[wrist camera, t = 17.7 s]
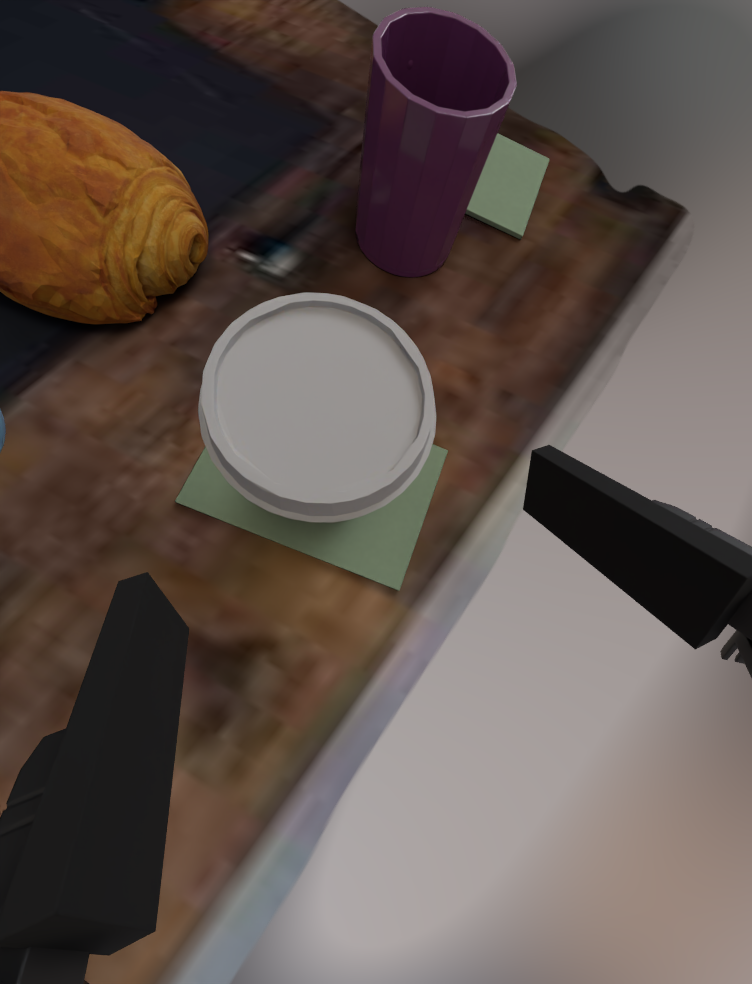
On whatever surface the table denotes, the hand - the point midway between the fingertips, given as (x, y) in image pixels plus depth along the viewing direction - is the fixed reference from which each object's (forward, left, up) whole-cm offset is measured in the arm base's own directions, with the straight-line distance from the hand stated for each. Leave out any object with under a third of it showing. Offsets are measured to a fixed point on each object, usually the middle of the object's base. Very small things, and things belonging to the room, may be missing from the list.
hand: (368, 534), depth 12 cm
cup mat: (-4, +4, -13) cm, 14 cm away
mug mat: (-4, +38, -13) cm, 41 cm away
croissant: (-26, +14, -13) cm, 32 cm away
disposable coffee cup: (-3, +4, -12) cm, 13 cm away
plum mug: (-7, +28, -13) cm, 32 cm away
